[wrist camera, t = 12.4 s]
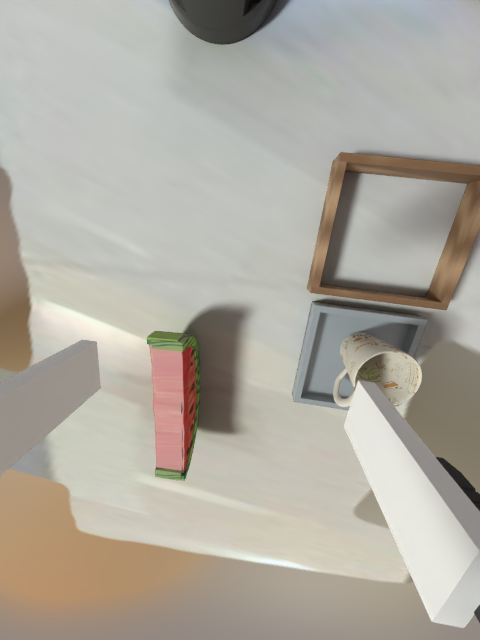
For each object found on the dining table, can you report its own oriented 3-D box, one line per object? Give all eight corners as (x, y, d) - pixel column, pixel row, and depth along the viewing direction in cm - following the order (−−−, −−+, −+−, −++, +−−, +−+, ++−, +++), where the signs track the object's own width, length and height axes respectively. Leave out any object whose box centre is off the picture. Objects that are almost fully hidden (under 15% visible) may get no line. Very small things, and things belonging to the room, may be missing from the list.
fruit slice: (201, 436, 50) (186, 482, 40) (172, 433, 50) (151, 477, 41) (203, 319, 42) (185, 341, 32) (168, 316, 42) (141, 337, 33)
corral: (332, 161, 33) (340, 152, 29) (478, 176, 32) (503, 168, 28) (306, 288, 38) (311, 292, 35) (430, 304, 37) (446, 310, 34)
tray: (312, 301, 39) (315, 305, 36) (417, 315, 38) (427, 320, 36) (292, 393, 44) (293, 401, 42) (383, 407, 44) (390, 416, 41)
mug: (394, 340, 39) (437, 371, 29) (348, 395, 43) (372, 438, 33) (352, 316, 38) (382, 339, 29) (309, 374, 42) (322, 411, 33)
